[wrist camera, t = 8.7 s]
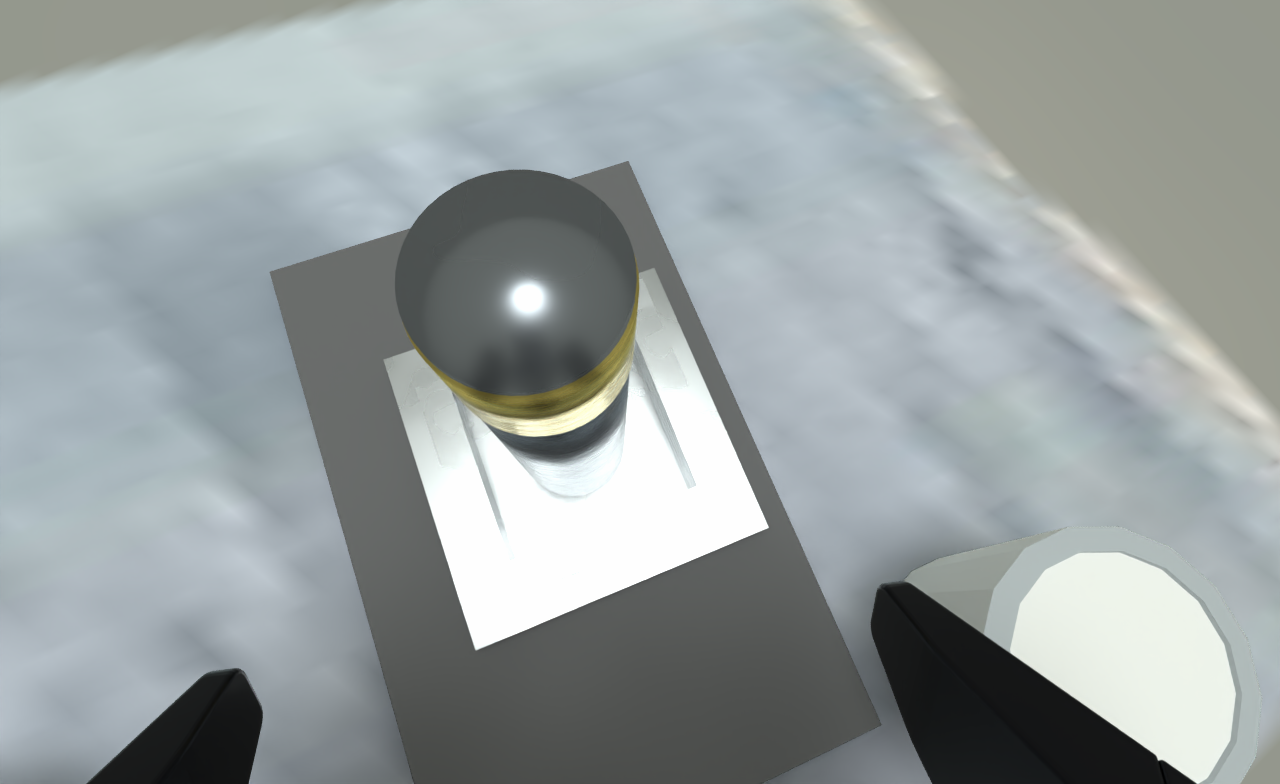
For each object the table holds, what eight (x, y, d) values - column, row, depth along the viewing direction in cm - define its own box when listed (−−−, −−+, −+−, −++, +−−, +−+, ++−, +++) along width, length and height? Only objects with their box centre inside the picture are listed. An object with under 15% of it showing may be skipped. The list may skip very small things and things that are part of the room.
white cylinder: (1104, 669, 22) (1326, 710, 15) (958, 802, 21) (1131, 911, 14) (970, 500, 23) (1121, 470, 17) (825, 615, 22) (925, 632, 15)
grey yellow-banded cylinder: (646, 456, 22) (689, 302, 9) (559, 519, 21) (478, 445, 9) (586, 374, 22) (550, 126, 10) (499, 432, 22) (344, 246, 9)
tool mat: (876, 722, 21) (881, 725, 21) (459, 925, 19) (456, 932, 19) (627, 167, 26) (628, 161, 26) (274, 276, 24) (269, 271, 24)
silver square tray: (762, 529, 22) (783, 523, 20) (480, 647, 21) (464, 657, 18) (652, 277, 25) (658, 243, 22) (390, 367, 23) (365, 341, 20)
